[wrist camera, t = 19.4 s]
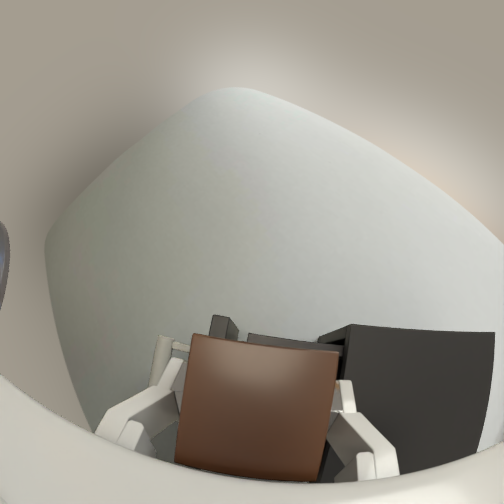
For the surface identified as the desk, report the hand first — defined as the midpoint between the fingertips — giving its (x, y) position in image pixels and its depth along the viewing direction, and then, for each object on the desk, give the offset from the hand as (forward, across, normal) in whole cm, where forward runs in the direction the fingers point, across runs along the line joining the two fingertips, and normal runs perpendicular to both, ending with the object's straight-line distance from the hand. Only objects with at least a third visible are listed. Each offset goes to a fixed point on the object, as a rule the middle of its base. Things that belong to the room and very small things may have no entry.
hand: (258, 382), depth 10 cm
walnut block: (+3, 0, +4) cm, 4 cm away
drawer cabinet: (+10, -13, +14) cm, 21 cm away
